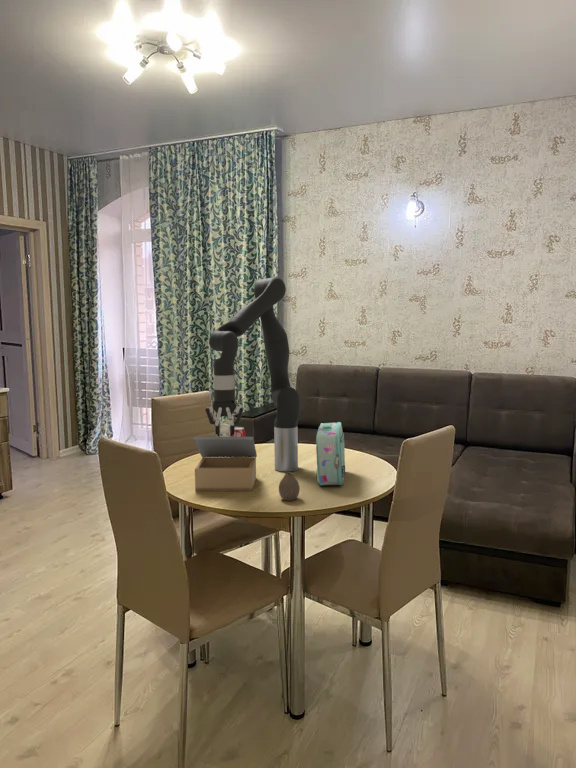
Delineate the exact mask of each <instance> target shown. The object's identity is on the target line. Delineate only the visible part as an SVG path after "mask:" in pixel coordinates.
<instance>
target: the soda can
mask: <svg viewBox="0 0 576 768" xmlns="http://www.w3.org/2000/svg"><path fill="white" fill-rule="evenodd" d="M229 437H247V436H246V431H245V427H243V426H235V433H234V434H233V436H230V435H229Z"/></svg>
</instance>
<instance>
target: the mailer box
mask: <svg viewBox="0 0 576 768" xmlns="http://www.w3.org/2000/svg"><path fill="white" fill-rule="evenodd" d="M256 480H257V457H201V459H200V460H199V462H198V463H197V465H196V466H195V467H194V486H195V487H194V489H195V492H253V491H254V487H255V483H256Z"/></svg>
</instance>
